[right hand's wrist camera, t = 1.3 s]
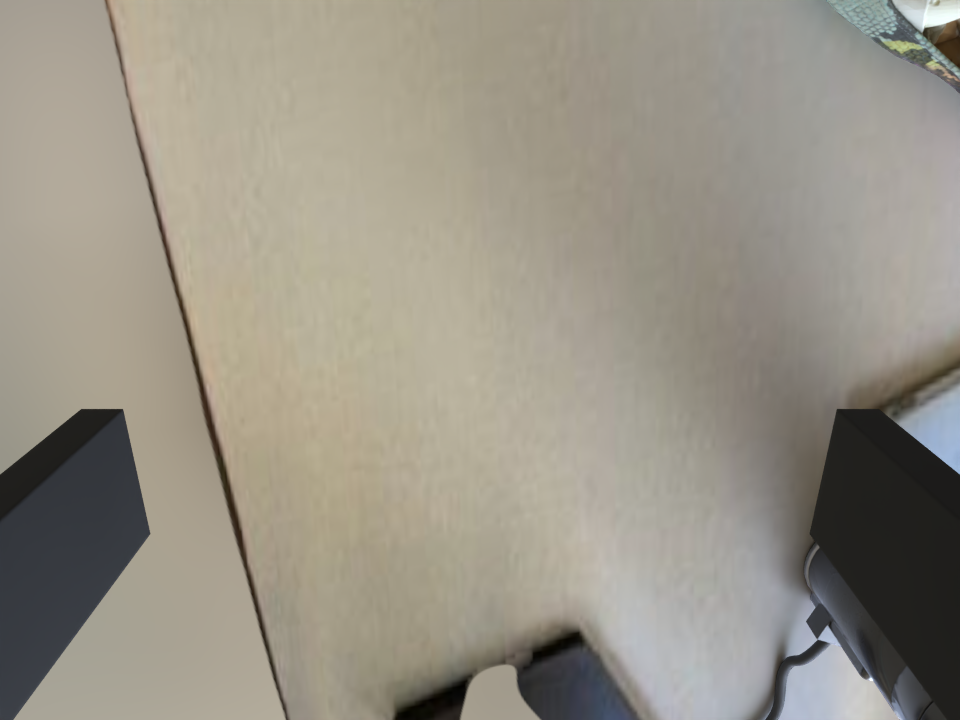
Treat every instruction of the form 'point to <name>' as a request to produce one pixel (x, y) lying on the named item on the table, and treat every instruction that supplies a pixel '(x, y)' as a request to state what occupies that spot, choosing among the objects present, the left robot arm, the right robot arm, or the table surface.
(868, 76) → the table surface
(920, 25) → the ballet flat
